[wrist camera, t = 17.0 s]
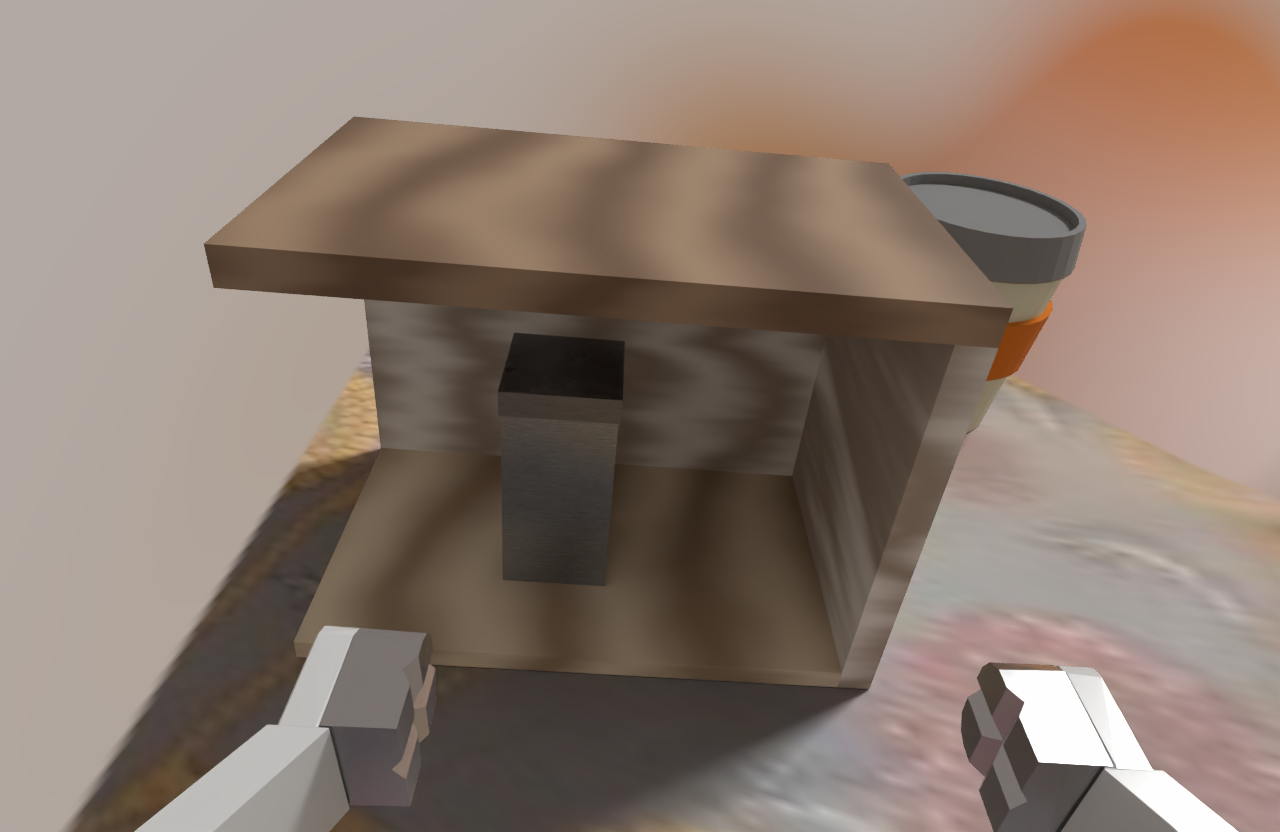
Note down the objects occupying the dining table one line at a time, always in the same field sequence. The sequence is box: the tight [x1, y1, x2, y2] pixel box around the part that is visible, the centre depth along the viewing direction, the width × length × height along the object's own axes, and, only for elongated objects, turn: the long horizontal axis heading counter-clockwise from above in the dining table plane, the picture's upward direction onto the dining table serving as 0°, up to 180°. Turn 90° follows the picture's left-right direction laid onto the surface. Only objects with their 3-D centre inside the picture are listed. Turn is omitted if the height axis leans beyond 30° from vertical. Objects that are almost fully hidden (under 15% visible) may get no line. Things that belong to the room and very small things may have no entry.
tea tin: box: [498, 333, 625, 586], centre depth 39 cm, size 5×5×11 cm
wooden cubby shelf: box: [204, 117, 1013, 689], centre depth 38 cm, size 26×16×20 cm, turn 90°
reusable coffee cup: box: [900, 172, 1086, 433], centre depth 55 cm, size 12×13×15 cm
